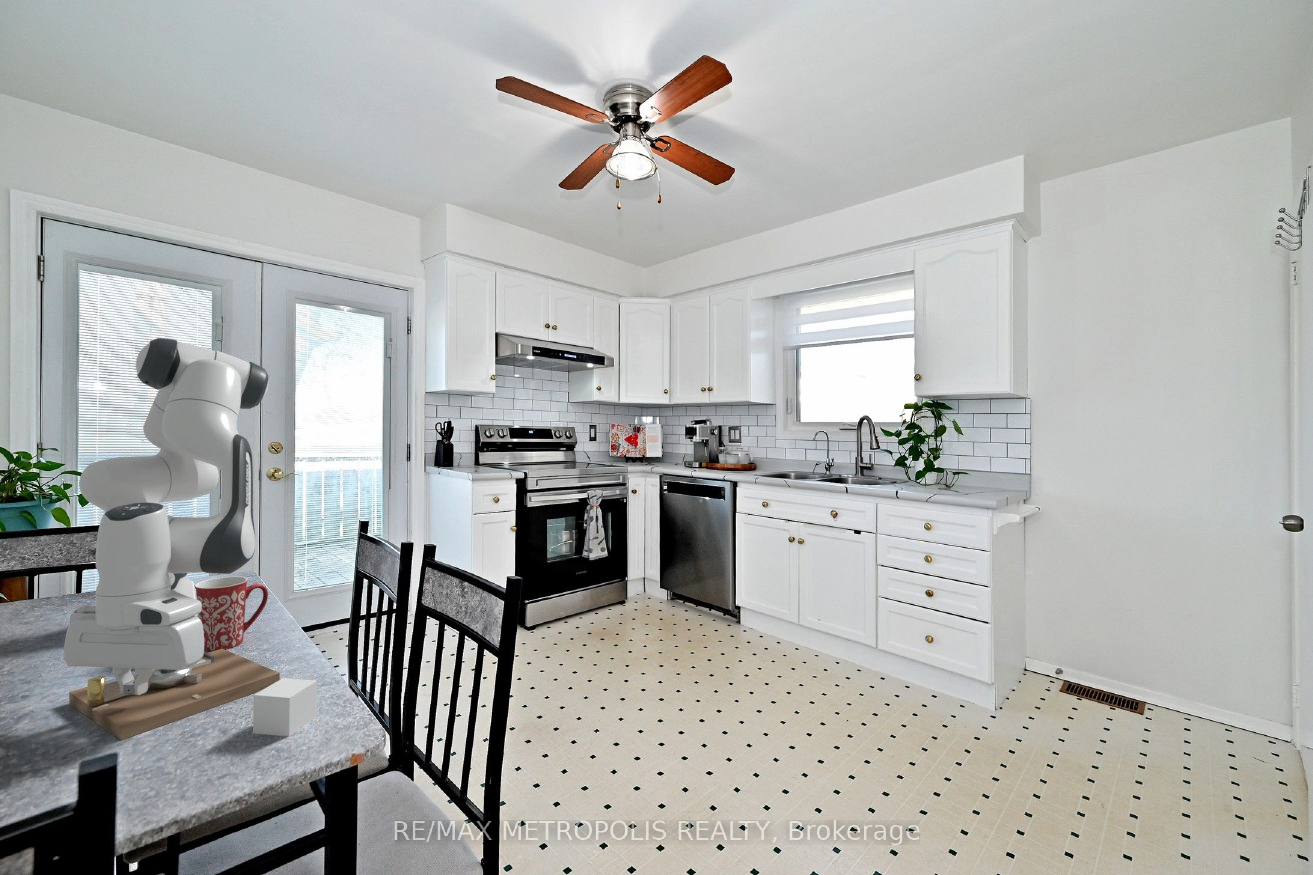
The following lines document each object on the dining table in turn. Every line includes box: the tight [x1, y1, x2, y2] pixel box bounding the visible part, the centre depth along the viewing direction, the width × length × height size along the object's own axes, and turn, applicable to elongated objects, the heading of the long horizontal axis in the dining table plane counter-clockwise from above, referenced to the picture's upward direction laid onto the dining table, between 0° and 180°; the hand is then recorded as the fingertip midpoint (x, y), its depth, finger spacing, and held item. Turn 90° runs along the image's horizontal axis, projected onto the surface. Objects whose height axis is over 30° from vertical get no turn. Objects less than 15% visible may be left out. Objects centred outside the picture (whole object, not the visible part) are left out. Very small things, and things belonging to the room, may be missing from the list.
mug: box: [194, 575, 269, 652], centre depth 122 cm, size 13×9×14 cm
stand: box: [68, 649, 281, 741], centre depth 99 cm, size 22×22×4 cm
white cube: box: [252, 677, 318, 737], centre depth 90 cm, size 6×6×6 cm
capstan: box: [87, 666, 202, 706], centre depth 95 cm, size 13×9×5 cm
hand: (134, 693), depth 91 cm, fingers closed
